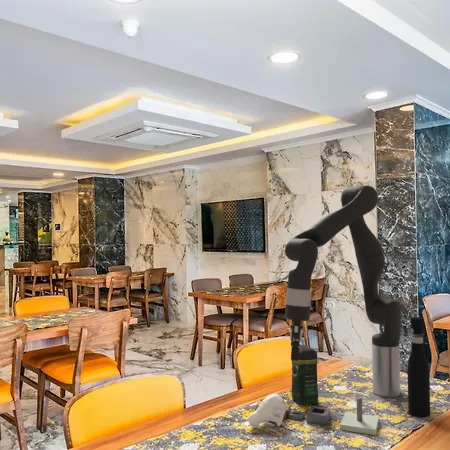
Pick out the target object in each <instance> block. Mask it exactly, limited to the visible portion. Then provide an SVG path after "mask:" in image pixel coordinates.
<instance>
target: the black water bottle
mask: <svg viewBox="0 0 450 450" xmlns="http://www.w3.org/2000/svg"><path fill="white" fill-rule="evenodd" d="M410 328H411V329H412V331H413V332H412V337H411V343H410V346H411V351H410V354H409V357H408V361H407V367H406V370H407V411H408V414H409V415H410V416H412V417H416V418H422V419H423V418H429V417H430V416H431V388H430V387H431V386H430V385H431V384H430V382H431V381H430V380H431V379H430V366H429V361H428V359H427V355H426V353H425V343H424V337H423V333H422V332H423V330H425V319H424V317H419V316H412V317H410Z"/></svg>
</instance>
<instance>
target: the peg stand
mask: <svg viewBox="0 0 450 450" xmlns="http://www.w3.org/2000/svg"><path fill="white" fill-rule="evenodd" d="M379 424H380V416H376V415H370V414H363V398H362V397H356V413H354V412H348V411H345V412H344V414H343V416H342V419H341V421H340V423H339V430H342V431H347V432H353V433H358V434H359V433H360V434H366V435H373V436H376V435H377V431H378V429H379V428H378V427H379Z"/></svg>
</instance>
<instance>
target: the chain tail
mask: <svg viewBox="0 0 450 450" xmlns="http://www.w3.org/2000/svg"><path fill="white" fill-rule="evenodd" d="M284 405H285V407H286V409H285V414H284V417H283V420H287V419H291V420H299V421H303V420H304V418H305V417H306V416H305V412H301V411H294V410H292V408H291V407H292V406H291V405H292V404H291V405H290V404H284Z"/></svg>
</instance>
